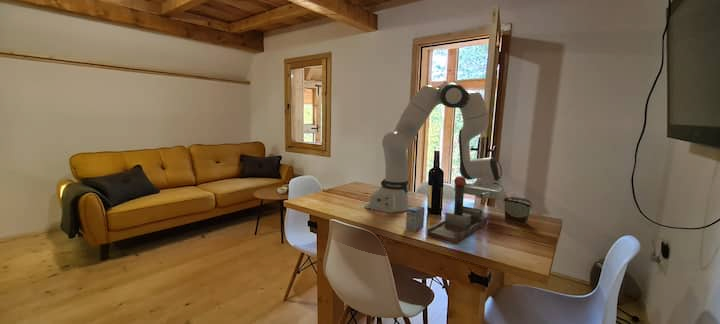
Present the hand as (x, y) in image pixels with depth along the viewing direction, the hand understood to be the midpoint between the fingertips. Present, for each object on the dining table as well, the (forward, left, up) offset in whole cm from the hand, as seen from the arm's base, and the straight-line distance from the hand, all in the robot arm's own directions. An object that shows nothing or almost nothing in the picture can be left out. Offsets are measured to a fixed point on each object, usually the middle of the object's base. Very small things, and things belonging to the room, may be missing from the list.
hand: (471, 193), depth 132 cm
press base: (-4, -10, -13) cm, 17 cm away
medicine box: (-21, -15, -14) cm, 29 cm away
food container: (+20, +13, -14) cm, 28 cm away
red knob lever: (-4, -11, -11) cm, 16 cm away
